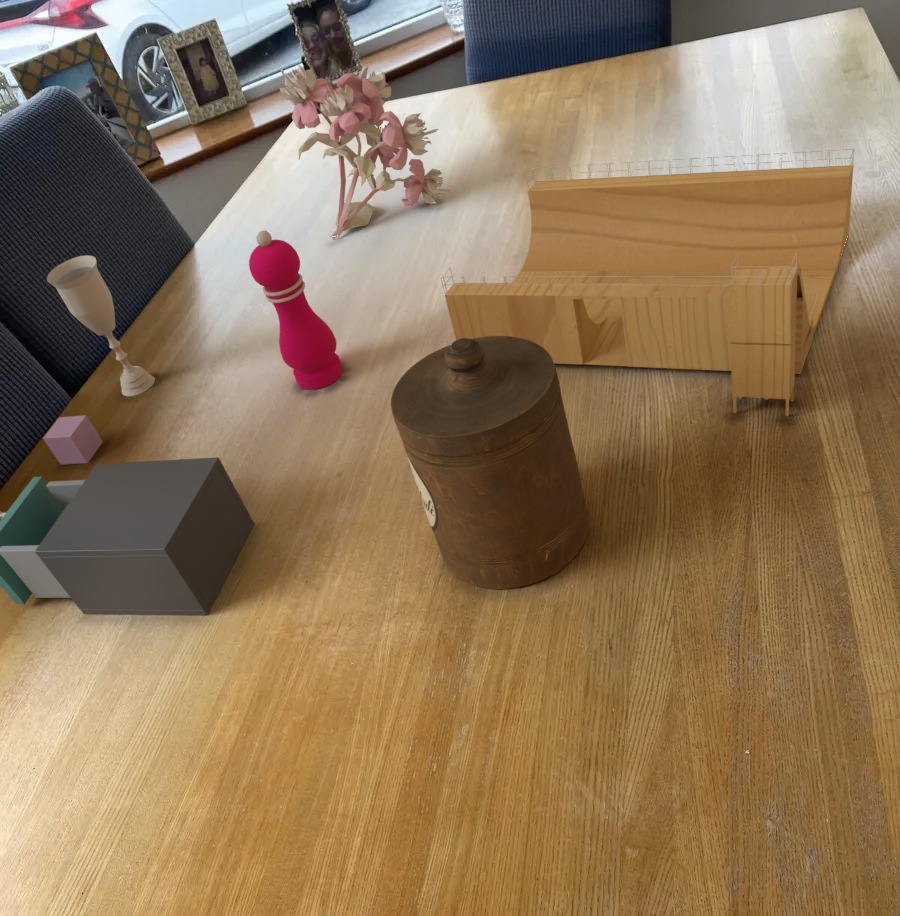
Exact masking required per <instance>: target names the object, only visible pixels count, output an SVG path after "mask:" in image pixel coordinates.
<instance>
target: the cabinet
mask: <svg viewBox="0 0 900 916" xmlns="http://www.w3.org/2000/svg"><path fill="white" fill-rule="evenodd" d="M84 480H85V481H84V483H83V484H82V485H81V487H80V488H79V490H78V491H77V493H76V494H75V495H74V497H73V498H72V500H71V501H70V502H69V504H68V505H67V507H66V508H65V509H64V511H63V512H62V514H61V515H60V516H59V518H58V519H57V521H56V522H55V524H54V525H53V526H52V528H51V529H50V531H49V532H48V533H47V535H46V536H45V538H44V539H43V540H42V542H41V543H40V545H39V546H38V547H37V549H36V550H35V553H36V554H37V555H38V556H39V558H40V559H41V561H42V562H43V563H44V564H45V566H46V567H47V568H48V569H49V571H50V572H51V573H52V575H53V576H54V577H55V578H56V580H57V581H58V582H59V583H60V585H61V586H62V587H63V588H64V590H65V591H66V592H67V594H68V595H69V596H70V597H71V598H70V599H71V600H72V601H73V603H75V605H76V607H77V608H78V609H79V610H80V612H81V613H82V614H83V615H130V616H131V615H132V616H133V615H137V616H139V615H140V616H141V615H142V616H143V615H144V616H147V615H148V616H208V615H209V613H210V611H211V608H212V607H213V605H214V603H215V601H216V599H217V597H218V595H219V594H220V592H221V589H222V587H223V585H224V584H225V581H226V580H227V578H228V577H229V574H230V572H231V570H232V568H233V566H234V564H235V562H236V560H237V559H238V556H239V554H240V553H241V551H242V549H243V547H244V545H245V543H246V541H247V539H248V538H249V535H250V533H251V531H252V530H253V527H254V526H255V522H254V521H253V519H252V517H251V515H250V512H249V511H248V509H247V508H246V505H245V503H244V502H243V500H242V498H241V496H240V494H239V492H238V491H237V488H236V487H235V485H234V483H233V481H232V479H231V478H230V475H229V474H228V472H227V471H226V468H225V466H224V464H223V463H222V461H221V459H220V457H219V456H218V457H217V456H215V457H200V458H199V457H198V458H180V459H164V460H161V459H160V460H146V461H145V460H144V461H126V462H125V461H124V462H112V463H111V462H109V463H96V464H95V466H94V467H93V468H92V470H91V471H90V473H88V475H87V477H86V478H85V479H84Z"/></svg>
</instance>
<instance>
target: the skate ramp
mask: <svg viewBox="0 0 900 916" xmlns="http://www.w3.org/2000/svg"><path fill="white" fill-rule="evenodd" d="M832 151H835V152H836V151H838V149H831V150H830V149H829V150H827V153H828V158H823V159H821V158H820V159H818V161H826V160H827V161H828V162H827V166H811V167H810V166H809V167H807V166H806V164H807V161H810V159H807V151H797V152H796V151H795V152H793V154H801V153H803V154H804V156H803V157H802V158H803V160H801V159H800V160H799V162H803V163H802V167H789V168H783V163H788V162H792V160H783V158H780V168H772V169H760V156H767V155H768V156H769V153H763V154H762V153H761V154H757V169H751V170H749V169H748V170H733V171H715V167H717V166H718V164H715V163H714V162H715V160H714V159H715V158H718V156H712V157H711V156H709V157H707V159H710V160H712V164H711V165H708V167H712V171H711V172H694V173H693V172H692V168H695V167H696V168H697V167H700V165H693V160H697V159H699V160H700V157H693V158H692V157H691V158H690V164H689V170H690V173H673V174H672V173H671V170H672V169H677V168H678V169H679V168H682V166H675V167H671V166H672V164H671V163H672V162H669V167H668V172H669V173H668V174H655V175H654V174H653V175H651V172H649V174H648V175H637V176H636V175H635V176H634V175H633V176H631V174H630V170H631V166H630V163H632V161H625V162H621V164H628V168H627V171H628V174H629V176H614V177H613V176H612V175H611V174H610V171H611V168H610V165H613V164H614V162H607V163H604V165H607V167H608V170H602V171H600V170H599V171H598V173H604V172H605V173H607V175H608V176H609V177H597V178H595V177H593V178H592V175H591V173H590V171H591V168H590V167H591V166H595V165H597V163H591V164H589V163H588V167H587V170H588V171H583V172H581V171H579V174H585V173H586V174H587V173H588V174H589V175H588V178H577V179H574V178H572V177H573V176H572V175H571V172H572V170H571V168H569V170H568V172H567V173H566V172H565V173H562V172H561V175H566V174H567V175H568V174H569V175H570V177H569V179H559V180H557V179H556V180H554V177H553V176H554V174H552V172H553V168H556V167H557V168H560V167H563V165H557V166H556V165H555V166H553V168H549V169H550V170H549V171H550V173H547V174H546V173H545V174H543V176H549V175H550V177H551V179H553V180H538V181H536V174H535V167H531V169H530V171H532V173H533V176H532V177H530V180H526V182H527V184H529V183H530V181H531V180H532V179H533V181H534V183H533V184H532V185H531V187H529V186H527V188H528V190H527V194H528V200H529V207H530V215H531V216H530V221H531V222H530V223H531V224H530V225H531V226H530V227H531V228H530V240H529V247H528V251H527V255H526V259H525V261H524V264H523V266H522V268H521V269H520V271H519V272H518V274H516V276H515V277H514V279H513V281H511V282H507V281H506V280H507V276H504V277H503V280H504V282H487V281H486V276H483V278H482V281H483V282H465V281H466V280H465V276H461V279H462V282H455V281H454V276H453V274H452V270H451V267H449V268H448V269H447V271H445V273H444V274H443V275H442V277H441V278H440V281H441V285H442V289H443V293H444V299H445V303H446V306H447V311H448V314H449V318H450V322H451V326H452V329H453V334H454V338H455V341H456V340H458V339H461V338H468V339H473V338H479V337H486V336H512V337H518V338H522V339H526V340H529V341H532V342H534V343H536V344H538V345H540V346H541V347H543V348H544V349H545V350H546V351H547V352H548V353H549V354H550V356H551V357H552V359H553V362H554V364H557V365H558V364H559V365H560V364H561V365H590V366H591V365H592V366H610V367H611V366H613V367H628V368H629V367H630V368H632V367H633V368H651V369H652V368H654V369H675V370H676V369H678V370H698V371H701V370H702V371H725V372H730V373H731V375H730V376H731V397H732V405H733V406H732V409H733V410H732V411H733V414H736V413H737V411H738V409H737V406H738V405H737V397H738V399H739V400H742V399H743V398H756V399H764V401H769V399H771V400H772V399H773V400H785V417H789V415H790V402H791V403H792V402H793V403H794V401H795V379H796V378H795V375H796V374H797V375H801V374H802V372H803V368H804V366H805V363H806V360H807V357H808V354H809V352H810V349H811V346H812V343H813V339H814V335H815V332H816V330H817V327H818V326H819V322H820V320H821V317H822V314H823V311H824V308H825V306H826V303H827V300H828V297H829V295H830V291H831V288H832V286H833V283H834V280H835V277H836V275H837V271H838V269H839V266H840V263H841V260H842V257H843V254H844V251H845V249H846V245H847V243H848V240H849V237H850V223H851V208H852V207H851V206H852V192H853V179H854V178H853V176H854V164H853V161H854V159H855V148H849V149H848V148H847V149H844V151H852V153H851V154H850V156H849V160H850V163H849V165H848V164H847V165H832V166H831V165H830V164H831V163H830V162H831V161H830V160H831V153H830V152H832ZM816 152H817V153H818V152H821V150H812V151H810V153H816ZM785 154H786V152H779V153H777V152H775V155H785ZM748 156H749V157H751V156H752V154H743V155H741V157H748ZM732 157H733V158H735V155H728V156H727V155H725V156H724V158H732ZM845 159H846V160H847V157H842V158H841V157H840V158H836V160H845ZM680 160H681V161H682V160H683V158H677V159H673V161H680ZM662 161H664V162H665V161H666V159H660V160H656V162H662ZM645 162H647V167H648V168H647V170H650V168H651V163H650V162H651V160H642V161H641V160H640V161H638V163H645ZM770 163H774V161H769V162H768V161H766V162H765V161H763V164H770ZM753 164H755V162H748V163H745V162H744V165H753ZM732 165H733V166H735V163H728V164H726V166H732ZM578 166H580V164H575V165H573V164H572V165H571V164H570V167H578ZM541 168H542V169H543V168H546V166H540V167H539V166H537V167H536V169H541ZM657 169H660V170H661V169H663V167H657V168H656V167H655V168H653V170H657ZM641 170H642V171H644V170H645V168H638V169H637V168H635V169H634V171H641ZM623 171H626V169H620V170H617V169H616V172H623ZM529 173H530V172H528V173H527V174H526V175H525V178H526V179H528V175H529ZM848 232H849V234H848ZM847 236H848V237H847ZM846 239H847V240H846ZM845 242H846V243H845ZM844 245H845V246H844ZM843 248H844V249H843ZM842 251H843V252H842ZM841 254H842V255H841ZM448 271H450V274H451V276H449V277H448V279H447V281H446V282H445V275H446V274H447V273H448ZM442 279H443V280H442ZM450 279H452V284H446V283H448V281H449V280H450ZM443 283H444V284H443ZM444 286H445V287H444ZM447 286H450V288H448V289H447ZM444 288H445V289H444ZM445 290H446V292H445Z"/></svg>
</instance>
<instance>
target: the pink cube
mask: <svg viewBox="0 0 900 916" xmlns="http://www.w3.org/2000/svg"><path fill="white" fill-rule="evenodd" d="M42 440H43V442H45V444H46V445H47V447H48V448H49V450H50V452H52V454H53V456H54V457H55V458H56V460H57V461H58V462H59V465H79V464H89V462H90V461H91V459H92V458H93V456H94V455H95V454H96V453H97V451H98V450H99V449H100V447H101V446H102V444H103V443H104V440H103V439H102V437H101V436H100V435H99V433H98V431H97V430H96V428H95V427H94V425H93V423H92V422H91V420H90V419H89V417H88V416H87V415H85V414H83V415H72V416H71V415H70V416H59V417H58V418H57V419H56V421H54V423H53V425H52V426H51V427H50V429H49V430H48V431H47V432H46V433H45V435H44V436H43V437H42Z"/></svg>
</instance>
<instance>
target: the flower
mask: <svg viewBox="0 0 900 916" xmlns="http://www.w3.org/2000/svg"><path fill="white" fill-rule="evenodd" d="M297 65H298V68H297V69H296V68H295V69H294V68H292V69H291V71H292V72H291V74H292V76H293V77H290V76H289V74H285V72H284V69H283V68H280V69H279V71H280V73H281V74H282V75H283V76H284V82H281V83H280V85H279V91H280V94H281V96H282V97H283V98H284V99H285V100H287V101H289V102H290V103H291V104H292V105H293V111H292V115H291V119H292V121H293V123H294V125H295V127H296V128H297V129H298V130H304V129H306V128H307V129H316V128H317V127H318V126H319V125H320V124H321V123H322V122H321V120H320V119H321V118H320V116H319V113H318V112H320V113H321V115H322V116H323V118H324V119H325V120H326V122H327V124H329V129H328V133H325V132H321V133H320V132H317V131H314V132H312V133H310V134H309V136H308V137H307V139H306V140H305V141H304V142H303V143H302V145H301V146H299V148H298V160H300V159H301V157H302V153H306V152H307V151H309V150H311V149H312V147H313V146H314V145H316V143H321V144H323V145H325V146H328V147H329V148H326V149H324V152H323V155H322V159H325V158H326V156H328V157H334V156H337V155H338V166H339V177H340V188H339V200H338V201H339V202H338V210H337V211H338V212H337V216H336V221H335V226H336V230H335V231H334V232H333V233H332V234H331V236H330V238H331V237H332V236H336V237H332V238H331V239H332V240H333V241H335V240H336V238H339V237H340V236H341V235H342V234H343V233H344V232H345V231H348V230H350V229H352V228H356V227H357V228H358V227H364V226H368V224H369V223H370V221H371V218H372V215H373V211H374V208H375V206H373V205H371V204H370V203H368V202H369V201H370V200H371V199H372V198H373V196H375V194H376V193H378V192H379V191H382V192H387V191H390V190H392V189H394V188H395V186H396V182H403V187H404V188H405V189H404V196H405V198H402V199H400V200H401V202H402V203H403V205H404V206H405V207H410V208H412V207H414V205H416V204H417V203H418V202H419V200H420V197H421V195H422V197H423V200H424V203H425V204H428V203H431V204H430V205H436V204H438V203H437V201H436V199H438V200H440V199H439V198H440V197H439V196H440V195H441V196H443V193H441V192H447V193H450V192H451V189H443V188H441V187H442V185H443V184H444V182H443V181H444V179H443V178H444V177H442V176H441V175H443V173H442V171H441V170H440V169H436V168H432V169H430V170H429V171H428V172H427V173H426V170H425V168H424V167H425V166H424V162H423V161H422V160H421V159H420V158H419V159H418V158H417V159H416V158H411V159H410V160H409V162H408V165H409V169H408V170H409V171H410V173H411V174H410V175H408V176H407V177H405V178H401V177H398V178H395V179H391V175H390V173H389V172H388V171H387V168H391V169H392V170H395V171H402V170H403V169H404V168H405V166H406V165H407V161H408V157H409V151H410V152H411V153H412V154H413V155H414V156H419V157H421V156H423V155H424V154H426V153H428V152H429V150H427V149H425V147H426V145H427V144H430V145H432V142H431V140H429V137H428V136H427V135H431V134H434V133H436V132H437V131H438V130H439V128H434V129H432V130H429V131H428V128H427V127H426V126H425V125H426V121H425V120H423V119H422V118H419V117H420V115H421V114H422V113H421V112H420V113H412V114H409V115H406V117H405V119H404V122H403V124H402V122H401V121H400V118H399V117H398V116H397V115H396V114H395V113H394V112H393V111H392V110H388V111H385V108H384V105H385V103H387V101H386V100H383V99H389V98H390V97H392V87H391V86H388V85H389V82H386V74H385V72H383V71H381V72H380V73H379V74H376V72H375V71H372V73H369V76H368V77H367V75H368V70H369V65H364V67H362V69H361V71H360V72H359V74H358V75H357V74H356V73H354V72H348V73H347V72H345V73H344V74H342V75H341V77H339V78H338V79H337V80H336V88H335V90H334V89H333V87H334V86H333V84H332V83H331V81H330V80H328V79H326V78H316V74H315V73H314V71H313V70H312V69H306V70H305V69H304V68H303V67H302V66H301V65H300V64H297ZM297 71H298V72H297ZM343 87H345V88H344V89H343ZM318 103H319V104H318ZM330 117H335V119H334V120H333V121H331V119H330ZM384 122H388V123H387V124H384V127H382V124H383V123H384ZM359 133H362V134H365V139H366V144H367V145H368V146H370V147H369V148H368V149H367V150H366V151H365V153H364V154H363V155H361V154H362V143H361V138H360V135H359ZM425 136H426V137H425ZM354 138H356V142H357V153H356V152H354V151H353V150H352V149H351V148H350V147H349V146H348V145H347V144H348V143H350V142H351V141H352V140H353V139H354ZM408 150H409V151H408ZM378 157H379V160H380V161H379V162H380V163H381V165H382V171H381V172H379V174H378V175H377V176H376V177H375V176H374V175H375V174H373V173H374V172H375V169H376V168H377V167H376V162H377V159H378ZM345 159H346V160H347V162H348V163H349V164H350V165H351V166H352V167H353V168H352V169H351V170H350V172H349V173H348V175H347V177H346V167H345ZM350 176H352V179H351V183H350V186H349V189H348V192H347V195H346V186H347V185H346V183H347V178H349V177H350ZM359 177H360V178H361V180H360V181H361V183H360V185H361V186H360V188H361V187H362V186H364V184H365V183H366V181H367V182H368V183H367V184H368V185H369V187H370V189H371V191H370V193H368V195H367V196H366V197H365V198H364V199H363V200H362V201H353V202H352V200H353V197H354V193H355V190H356V186H357V182H358V180H359V179H358V178H359ZM345 196H346V197H345ZM345 198H346V199H345ZM433 202H436V203H433ZM337 235H338V236H337Z"/></svg>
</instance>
